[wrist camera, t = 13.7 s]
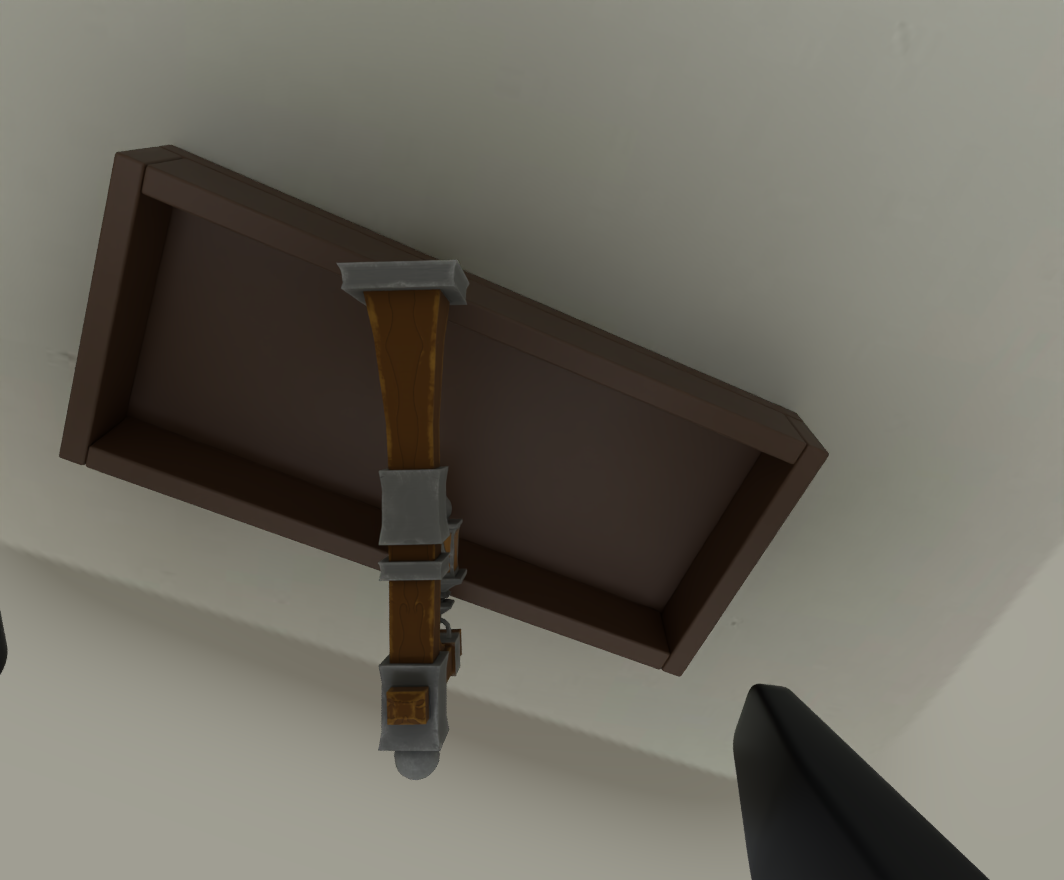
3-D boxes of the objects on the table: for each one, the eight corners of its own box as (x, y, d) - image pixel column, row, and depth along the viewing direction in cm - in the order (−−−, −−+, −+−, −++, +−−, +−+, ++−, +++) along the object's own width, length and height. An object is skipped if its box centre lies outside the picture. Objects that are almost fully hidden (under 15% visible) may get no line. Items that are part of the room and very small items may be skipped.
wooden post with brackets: (403, 696, 16) (346, 805, 11) (394, 309, 15) (332, 259, 11) (490, 694, 16) (469, 803, 11) (481, 307, 15) (456, 255, 11)
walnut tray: (797, 413, 16) (831, 454, 14) (666, 620, 18) (680, 678, 17) (169, 143, 14) (113, 150, 12) (110, 417, 16) (57, 457, 14)
